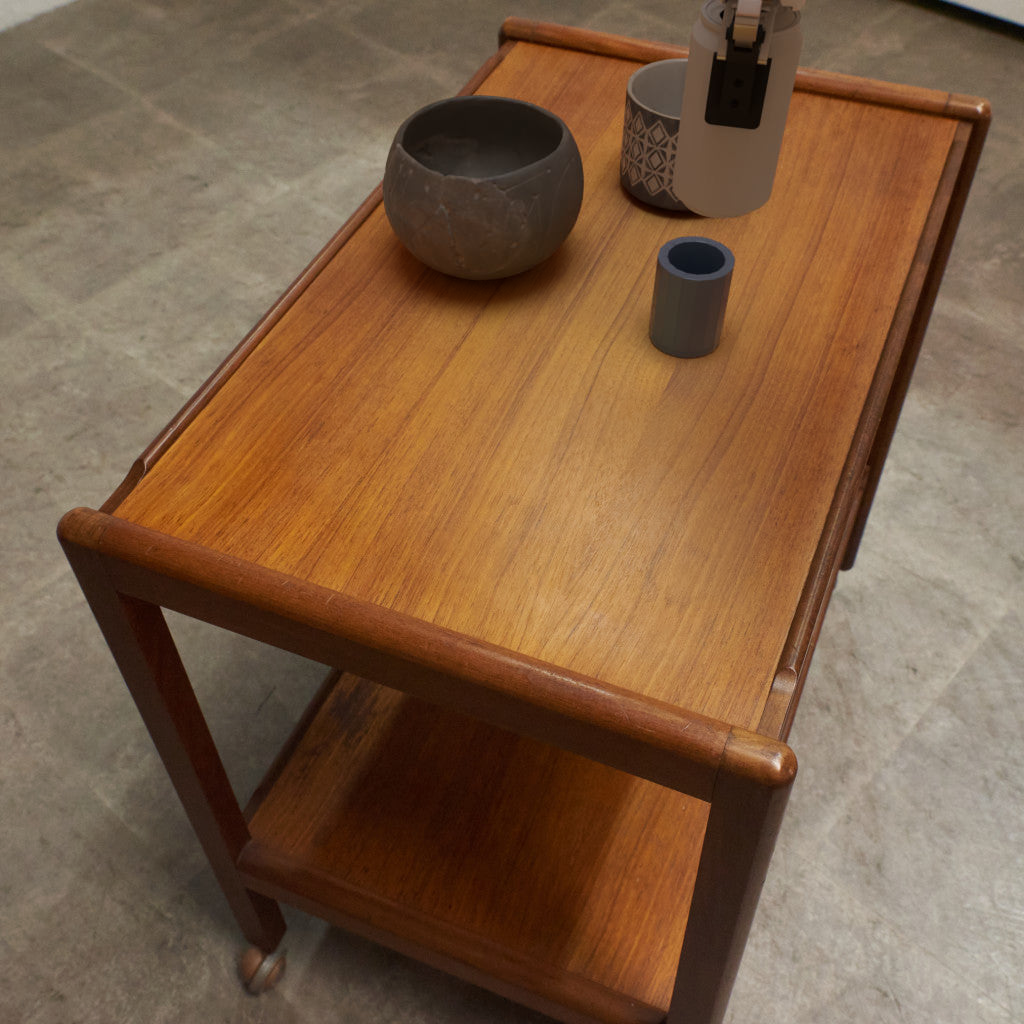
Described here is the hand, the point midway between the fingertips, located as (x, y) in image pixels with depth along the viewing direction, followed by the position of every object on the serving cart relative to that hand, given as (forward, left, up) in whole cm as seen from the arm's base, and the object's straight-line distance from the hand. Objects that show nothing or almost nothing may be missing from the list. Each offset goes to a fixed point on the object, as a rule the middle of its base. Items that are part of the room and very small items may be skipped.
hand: (738, 93), depth 64 cm
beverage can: (0, 0, -7) cm, 7 cm away
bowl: (+22, -19, -28) cm, 40 cm away
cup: (+2, -12, -28) cm, 30 cm away
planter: (+6, -36, -28) cm, 46 cm away
